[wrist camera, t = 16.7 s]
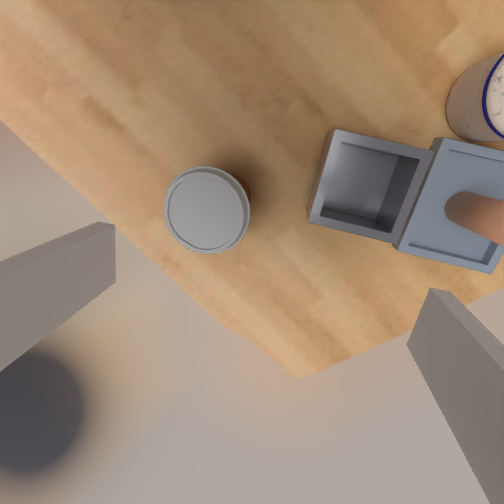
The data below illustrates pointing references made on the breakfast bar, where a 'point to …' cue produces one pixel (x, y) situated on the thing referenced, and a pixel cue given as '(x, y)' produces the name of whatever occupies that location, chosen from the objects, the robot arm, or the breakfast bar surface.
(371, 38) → the breakfast bar surface
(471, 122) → the teacup with lid
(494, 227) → the dowel
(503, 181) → the tray
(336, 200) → the open square box
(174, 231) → the disposable coffee cup
